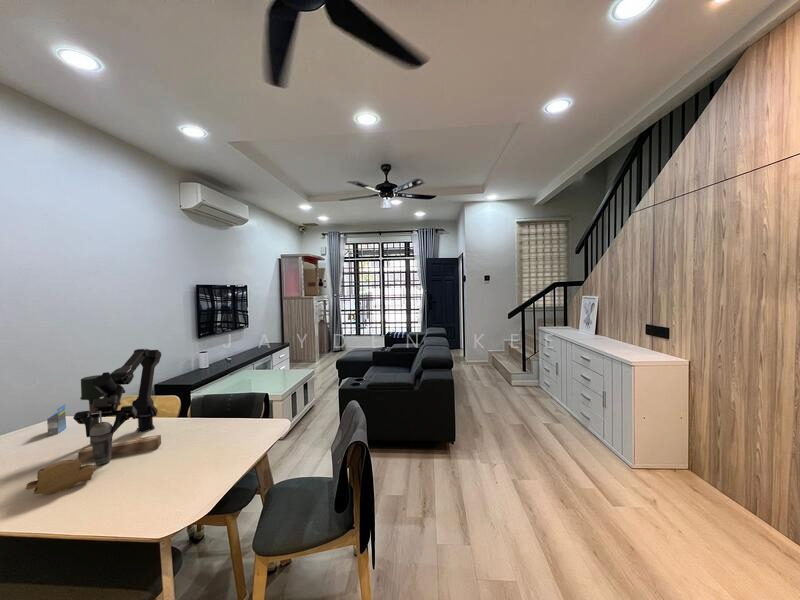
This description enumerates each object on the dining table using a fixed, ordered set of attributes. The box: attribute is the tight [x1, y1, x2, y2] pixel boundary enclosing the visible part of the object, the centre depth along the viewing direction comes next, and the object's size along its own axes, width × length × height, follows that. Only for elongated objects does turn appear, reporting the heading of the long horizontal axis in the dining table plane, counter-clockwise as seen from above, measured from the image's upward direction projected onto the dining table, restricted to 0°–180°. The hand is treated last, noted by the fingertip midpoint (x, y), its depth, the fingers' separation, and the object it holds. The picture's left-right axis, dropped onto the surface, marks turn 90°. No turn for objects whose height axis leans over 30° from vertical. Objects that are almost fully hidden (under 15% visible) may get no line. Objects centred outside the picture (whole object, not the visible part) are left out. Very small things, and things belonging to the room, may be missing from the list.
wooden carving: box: [25, 458, 97, 495], centre depth 110 cm, size 16×5×10 cm, turn 141°
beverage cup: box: [88, 411, 114, 466], centre depth 127 cm, size 7×7×20 cm
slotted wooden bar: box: [77, 434, 162, 463], centre depth 136 cm, size 26×5×4 cm, turn 114°
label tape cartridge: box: [46, 403, 67, 436], centre depth 160 cm, size 9×4×12 cm, turn 28°
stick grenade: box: [79, 374, 105, 446], centre depth 145 cm, size 8×9×30 cm
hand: (99, 435), depth 126 cm, fingers closed on beverage cup, 7 cm apart
